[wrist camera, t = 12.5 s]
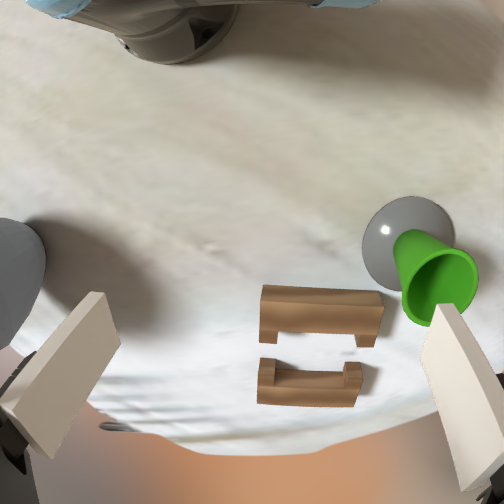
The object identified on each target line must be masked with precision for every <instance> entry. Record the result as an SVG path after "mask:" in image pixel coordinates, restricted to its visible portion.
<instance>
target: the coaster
mask: <svg viewBox="0 0 504 504" xmlns="http://www.w3.org/2000/svg"><path fill="white" fill-rule="evenodd" d="M411 229H417V230H421V231H422V232H424V233H426V234H428V235H430V236H431V237H433V238H435V239H437V240H439V241H440V242H442V243H444V244H446V245H447V246H449V247H451V248H453V240H454V238H453V229H452V225H451V222H450V220H449V218H448V216H447V215H446V213H445V212H444V211H443V210H442V209H441V208H440V207H439V206H438V205H436V204H435V203H434V202H432V201H430V200H428V199H425V198H422V197H414V196H410V197H403V198H399V199H396V200H394V201H392V202H390V203H388V204H387V205H385V206H384V207H382V208H381V209H380V210H379V211H378V212H377V213H376V214H375V216H374V217H373V218H372V220H371V221H370V223H369V224H368V226H367V228H366V231H365V234H364V238H363V243H362V255H363V260H364V263H365V266H366V268H367V270H368V272H369V274H370V275H371V277H372V278H373V279H374V280H375V281H376V282H377V283H378V284H380V285H381V286H383V287H385V288H387V289H390V290H394V291H402V287H401V283H400V279H399V275H398V271H397V267H396V263H395V259H394V256H393V247H394V243H395V241H396V239H397V238H398V236H399V235H400V234H402V233H403V232H405V231H407V230H411Z"/></svg>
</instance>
